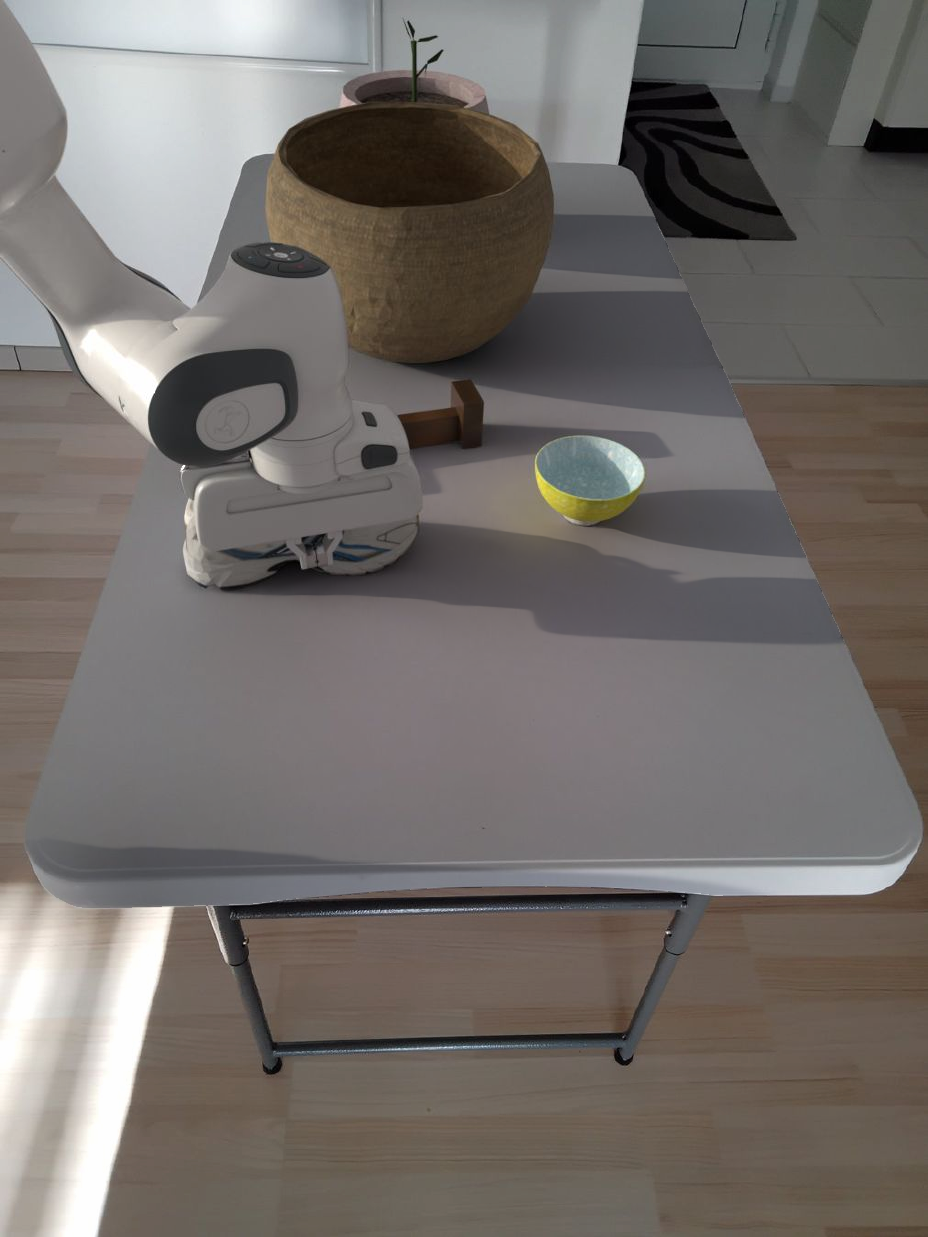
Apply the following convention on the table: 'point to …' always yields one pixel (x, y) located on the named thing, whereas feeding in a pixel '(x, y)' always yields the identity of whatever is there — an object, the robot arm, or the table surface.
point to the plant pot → (415, 85)
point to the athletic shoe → (263, 560)
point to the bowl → (588, 478)
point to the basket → (416, 221)
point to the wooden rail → (448, 420)
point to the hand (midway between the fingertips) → (316, 562)
